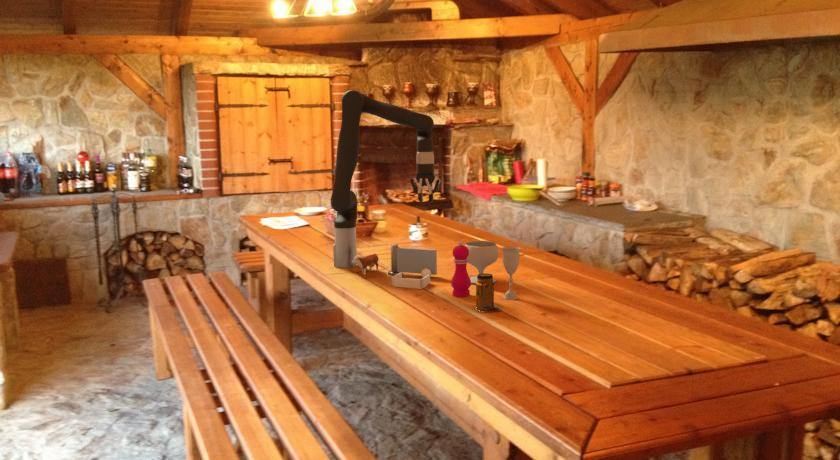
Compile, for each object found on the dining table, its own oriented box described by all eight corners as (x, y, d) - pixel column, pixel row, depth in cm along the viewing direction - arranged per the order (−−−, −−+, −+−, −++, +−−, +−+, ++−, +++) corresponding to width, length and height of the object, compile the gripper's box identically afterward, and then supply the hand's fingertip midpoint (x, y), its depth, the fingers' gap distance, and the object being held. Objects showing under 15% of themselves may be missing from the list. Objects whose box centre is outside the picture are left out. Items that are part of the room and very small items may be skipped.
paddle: (390, 271, 293) (389, 245, 291) (393, 270, 296) (392, 244, 294) (434, 275, 286) (434, 248, 284) (437, 273, 289) (437, 246, 287)
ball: (419, 279, 284) (419, 269, 284) (423, 276, 288) (423, 267, 287) (429, 279, 283) (429, 270, 282) (432, 277, 287) (432, 267, 286)
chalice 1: (502, 278, 284) (502, 241, 281) (494, 286, 271) (494, 248, 268) (468, 275, 289) (468, 239, 286) (458, 284, 276) (458, 246, 273)
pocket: (391, 286, 274) (391, 277, 273) (400, 280, 282) (400, 272, 281) (422, 288, 269) (421, 279, 269) (430, 283, 277) (430, 274, 277)
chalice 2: (499, 295, 259) (499, 246, 256) (517, 294, 259) (518, 246, 256) (503, 300, 251) (503, 250, 248) (522, 300, 252) (522, 250, 249)
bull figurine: (351, 275, 293) (350, 255, 292) (374, 269, 303) (374, 250, 301) (358, 276, 290) (357, 257, 289) (382, 270, 300) (381, 251, 298)
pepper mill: (469, 298, 256) (469, 243, 252) (449, 297, 257) (449, 242, 254) (472, 292, 263) (472, 239, 259) (452, 292, 264) (452, 239, 261)
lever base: (385, 274, 292) (385, 273, 292) (391, 271, 298) (391, 269, 298) (399, 276, 290) (399, 274, 290) (404, 272, 296) (404, 270, 296)
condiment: (472, 306, 245) (472, 272, 243) (496, 305, 246) (496, 271, 244) (478, 312, 238) (478, 278, 236) (502, 311, 239) (502, 276, 237)
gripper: (406, 162, 302) (407, 202, 305) (437, 163, 297) (438, 204, 300) (413, 161, 309) (413, 200, 312) (443, 161, 304) (444, 201, 307)
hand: (425, 202), depth 306 cm, fingers open, 3 cm apart
